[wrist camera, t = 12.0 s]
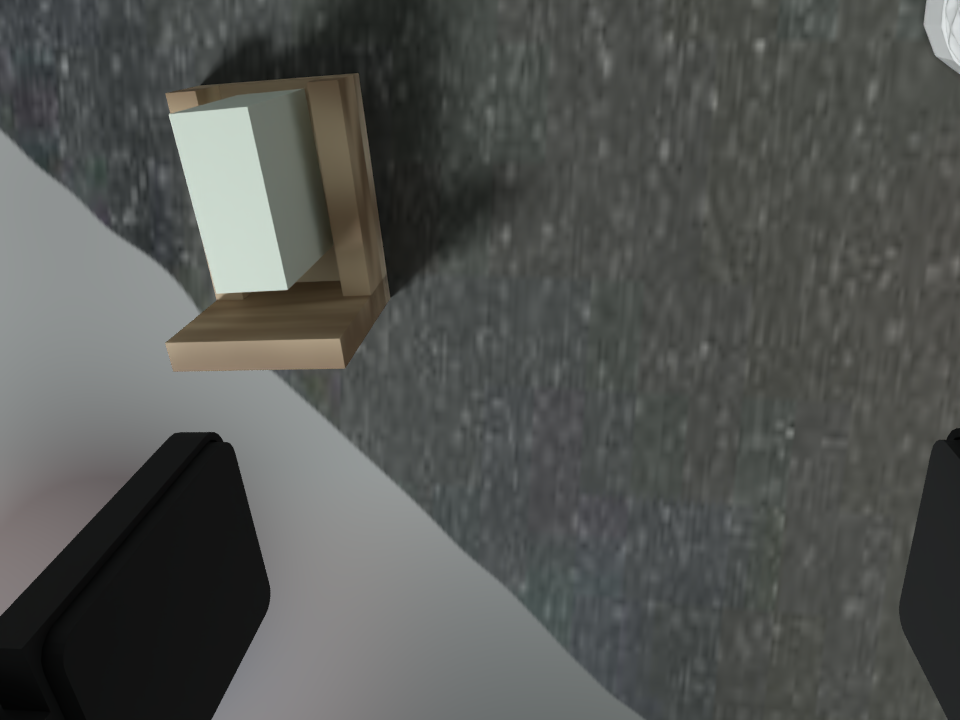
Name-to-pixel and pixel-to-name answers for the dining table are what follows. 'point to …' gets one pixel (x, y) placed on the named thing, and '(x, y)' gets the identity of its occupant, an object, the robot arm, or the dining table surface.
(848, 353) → the dining table surface
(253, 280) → the pale green tall block
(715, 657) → the dining table surface
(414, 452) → the dining table surface
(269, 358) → the track block
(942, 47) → the white cup
